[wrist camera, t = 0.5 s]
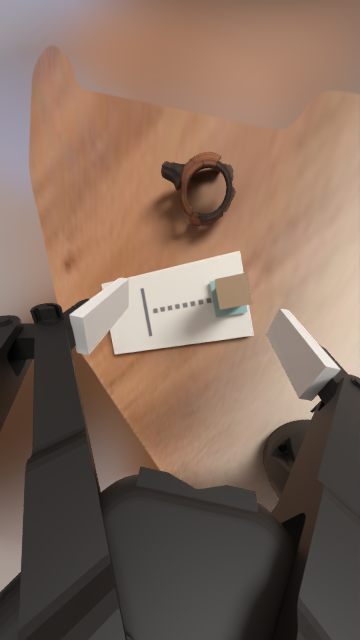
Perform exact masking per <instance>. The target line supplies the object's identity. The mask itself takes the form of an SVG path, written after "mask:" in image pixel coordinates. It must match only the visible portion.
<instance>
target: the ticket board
mask: <svg viewBox="0 0 360 640" xmlns="http://www.w3.org/2000/svg"><path fill="white" fill-rule="evenodd" d="M242 273H243V267H242V261H241V255H240V251H237V252H233V253H228V254H224V255H220V256H216V257H212V258H208V259H204V260H200V261H195V262H191V263H187V264H183V265H179V266H175V267H171V268H166V269H162V270H158V271H154V272H150V273H146V274H142V275H137V276H133V277H129V278H126V279H129V307H128V308H127V310H126V311H125V312H124V313H123V314H122V316H121V317H120V318H119V319H118V321H117V322H116V323H115V324H114V325H113V327H112V328H111V329H110V332H111V337H112V343H113V348H114V353H115V354H122V353H129V352H137V351H144V350H151V349H159V348H166V347H173V346H181V345H188V344H195V343H203V342H210V341H217V340H225V339H232V338H239V337H246V336H254V334H253V328H252V322H251V316H250V310H249V305H247V311H248V312H246V313H240V314H234V315H228V316H222V317H216V315H215V309H214V303H213V297H212V291H211V286H210V281H214V280H215V279H218V278H223V277H228V276H232V275H237V274H242ZM113 282H114V281H113ZM113 282H108V283H104V284H101V285H102V290H104V289H105V288H106V287H108V286H109V285H110V284H112V283H113Z"/></svg>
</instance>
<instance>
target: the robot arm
mask: <svg viewBox="0 0 360 640" xmlns="http://www.w3.org/2000/svg"><path fill="white" fill-rule="evenodd" d="M128 307H129V279H126V278H118V279H117V280H116V281H114V282H113V283H112V284H110V285H109V286H108V287H106V288H105V289H104V290H102V291H101V292H99V293H98V294H97V295H95V296H94V297H93V298H91V299H85V300H82V301H79V302H78V303H77V304H75V305H74V306H72V307H71V308H69V309H68V310H66V311H65V312H64V313H62V308H61V306H60V305H58V304H54V303H45V304H40V305H37V306H35V307H33V308H32V309H31V311H30V312H31V314H32V318H33V320H34V323H35V324H22V323H21V321H20V319H19V317H17V316H10V315H8V316H0V431H1V429H2V426H3V424H4V422H5V420H6V417H7V415H8V413H9V411H10V409H11V406H12V404H13V402H14V400H15V397H16V395H17V393H18V391H19V388H20V386H21V384H22V381H23V379H24V377H25V375H26V373H27V370H28V368H29V366H30V364H31V361H32V359H34V401H33V403H34V404H33V451H32V456H31V457H30V458H29V459H28V461H27V464H26V471H25V490H24V515H23V538H22V560H21V572H20V573H19V574H18V575H17V576H16V577H15V578H14V579H13V580H12V581H11V582H10V583H9V584H8V585H7V586H6V587H5V588H4V589H3V590H2V591H1V592H0V640H360V378H358V377H356V376H353V375H348V374H347V373H346V371H345V370H344V369H343V368H342V367H341V366H340V365H339V364H338V362H337V361H335V359H334V358H333V357H332V356H331V355H330V354H329V352H328V351H327V350H326V349H325V348H323V347H322V346H320V345H319V344H318V343H317V342H316V341H315V340H314V338H313V337H312V336H311V335H310V334H309V333H308V332H307V330H306V329H305V328H304V327H303V326H302V325H301V324H300V322H299V321H298V320H297V319H296V318H295V317H294V316H293V314H292V313H291V312H290V311H289V310H285V309H279V311H278V313H277V315H276V317H275V319H274V321H273V323H272V324H271V326H270V328H269V330H268V332H267V334H266V335H267V337H268V339H269V341H270V343H271V345H272V346H273V348H274V350H275V352H276V354H277V356H278V358H279V360H280V362H281V364H282V366H283V368H284V370H285V372H286V374H287V376H288V378H289V380H290V382H291V384H292V385H293V387H294V389H295V391H296V393H297V395H298V397H299V398H300V399H305V400H310V401H312V400H313V399H314V398H315V397H316V396H317V395H318V396H319V397H320V399H321V401H320V402H319V403H318V404H317V405H316V406H315V407H314V408H313V409H312V410H311V411H310V412H312V413H313V412H314V411H315V412H314V414H313V417H312V419H311V420H299V421H294V422H290V423H288V424H285V425H283V426H281V427H280V428H278V429H277V430H276V431H275V432H274V433H273V434H272V435H271V436H270V437H269V439H268V441H267V443H266V445H265V448H264V465H265V469H266V472H267V475H268V479H269V481H270V483H271V486H272V488H273V489H274V491H275V493H276V494H277V496H278V497H279V499H280V500H279V502H278V504H277V506H276V507H275V509H274V510H273V511H272V512H271V513H270V512H269V511H268V510H267V509H266V508H264V507H263V506H262V505H260V504H259V503H257V499H256V494H255V492H254V491H250V490H245V489H241V488H236V487H232V486H227V485H226V486H219V487H212V488H205V489H195V488H193V487H192V486H190V485H188V484H187V483H185V482H183V481H181V480H180V479H178V478H176V477H175V476H173V475H171V474H170V473H167V472H163V471H158V470H154V469H149V468H145V467H140V471H139V474H138V475H132V476H128V477H125V478H123V479H120V480H118V481H116V482H115V483H113V484H112V485H110V486H109V487H107V488H106V489H105V490H103V491H102V492H100V487H99V482H98V478H97V473H96V468H95V464H94V459H93V454H92V449H91V444H90V439H89V434H88V429H87V425H86V420H85V416H84V410H83V405H82V401H81V395H80V390H79V385H78V380H77V376H76V371H75V366H74V361H73V356H72V351H71V350H72V348H74V347H75V346H76V350H77V353H81V354H86V355H89V354H90V353H91V352H92V351H93V350H94V348H95V347H96V346H97V345H98V344H99V342H100V341H101V340H102V339H103V337H104V336H105V335H106V334H107V333H108V331H109V330H110V329H111V328H112V327H113V325H114V324H115V323H116V322H117V321H118V319H119V318H120V317H121V316H122V314H123V313H124V312H125V311H126V310H127V308H128Z"/></svg>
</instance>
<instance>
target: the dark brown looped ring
mask: <svg viewBox="0 0 360 640" xmlns="http://www.w3.org/2000/svg"><path fill="white" fill-rule="evenodd" d="M220 159H221V156H220V155H218V154H216V153H213V152H205V153H201V154H198V155H196V156H194V157H193V158H191V159H190V160H189V161H188V162H187V163H186V164H178V163H174V162H173V163H170V162H167V161H166V162H164V163H163V165H162V169H161V173H162V177H163V178H165V179H167V180H169V181H171V182H172V183H173V184H174V185H175V188H176V190H178V192H179V196H180V200H181V204H182V206H183V208H184V211H185V212H186V214H187V215H188V216H189V217H190V220H189V221H190V222H191V223H193V224H195V225H207V224H210V223H212V222H214V221H216V220H218V219H219V218H220V217H222V216H223V213H224V212H226V211H227V209H228V208H229V206H230V204H231V201H232V199H233V197H234V196H235V193H236V191H235V189H234V188H233V186H232V181H233V169H232V167H231V165H227V164H223V163H221V162H220V161H219V160H220ZM204 168H211V169H214V170H216V171H218V172H219V173H220V172H221V173H222V174H223V176H224V178H225V181H226V186H227V189H226V195H225V198H224V201H223V203H222V204H221V205H220V207H219V208H218V209H217V210H215V211H214V212H212V213H210V214H199V215H197V214H195V213H194V212H193V209H192V208H191V206H190V205H189V203H188V200H187V185H188V182H189V180H191V179H192V177H193V176H194V175H195V174H196V173H197V172H198V171H200V170H201V169H204Z"/></svg>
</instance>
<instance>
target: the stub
mask: <svg viewBox="0 0 360 640" xmlns="http://www.w3.org/2000/svg"><path fill="white" fill-rule="evenodd" d="M210 286H211V291H212V297H213V303H214V309H215V315H216V317H222V316H228V315H234V314H240V313H246V312H248V311H247V305H250V304H252V299H251V293H250V287H249V281H248V275H247V272H246V273H242V274H237V275H232V276H228V277H223V278H218V279H215V280H214V281H210Z"/></svg>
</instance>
